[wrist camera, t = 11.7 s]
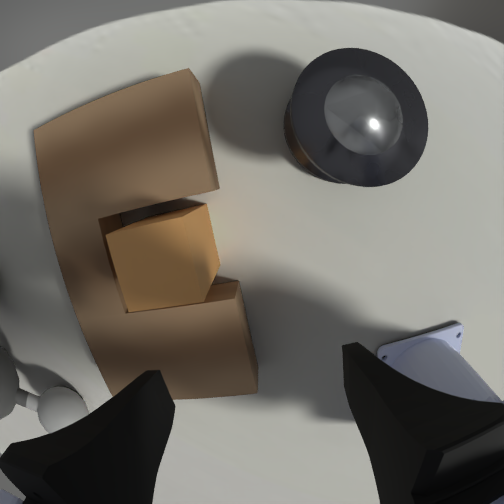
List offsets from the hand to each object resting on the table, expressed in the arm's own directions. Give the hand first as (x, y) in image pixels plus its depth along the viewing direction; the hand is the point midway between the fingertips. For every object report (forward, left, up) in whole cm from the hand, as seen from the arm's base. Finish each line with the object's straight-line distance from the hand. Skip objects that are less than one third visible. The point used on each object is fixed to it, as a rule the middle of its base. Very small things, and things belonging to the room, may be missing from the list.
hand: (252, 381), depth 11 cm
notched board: (+4, +7, -9) cm, 12 cm away
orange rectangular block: (+4, +4, -10) cm, 11 cm away
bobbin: (+10, -7, -9) cm, 15 cm away
